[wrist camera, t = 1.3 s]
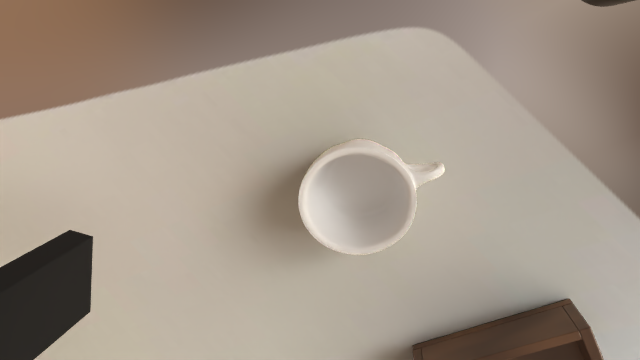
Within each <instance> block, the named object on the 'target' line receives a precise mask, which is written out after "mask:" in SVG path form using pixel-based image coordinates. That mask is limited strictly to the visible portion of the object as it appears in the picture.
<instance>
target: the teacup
mask: <svg viewBox="0 0 640 360" xmlns="http://www.w3.org/2000/svg"><path fill="white" fill-rule="evenodd" d="M444 172H445V168H444V165H443V163H441V162H434V163H424V164H406V163H404V162H403V161H402V160H401V158H400V157H399V156H398V155H397V154H396V153H395V152H393V151H392V150H390V149H389V148H386V147H384V146H382V145H380V144H378V143H376V142H374V141H371V140H367V139H354V140H350V141H347V142H344V143H341V144H338V145H335V146H333V147H331V148H329V149H327V150H326V151H325V152H323V153H322V154H321V155H320V156H319V157H318V158H317V159H316V160H315V161H314V162H313V163H312V165H311V166H310V167H309V169H308V171H307V172H306V174H305V176H304V178H303V180H302V183H301V186H300V189H299V195H298V206H299V212H300V216H301V219H302V221H303V223H304V225H305V227H306V228H307V230H308V231H309V233H310V234H311V235H312V236H313V237H314V238H315V239H316V240H317V241H319V242H320V243H321V244H323V245H324V246H326V247H328V248H330V249H332V250H334V251H337V252H340V253H344V254H350V255H365V254H371V253H375V252H379V251H381V250H384V249H386V248H388V247H390V246H391V245H393V244H394V243H396V242H397V241H398V240H399V239H400V238H401V237H402V236H403V235H404V234H405V233H406V232H407V230H408V229H409V227H410V226H411V224H412V222H413V219H414V216H415V213H416V208H417V195H416V189H417V187H419V186H420V185H422V184H424V183H426V182H429V181H431V180H434V179H436V178H438V177H440V176H441V175H442V174H443V173H444Z"/></svg>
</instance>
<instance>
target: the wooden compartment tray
mask: <svg viewBox="0 0 640 360" xmlns="http://www.w3.org/2000/svg"><path fill="white" fill-rule="evenodd" d="M412 347H413V359H414V360H604V359H603V357H602V354H601V352H600V349H599V347H598V344H597V342H596V339H595V337H594V334H593V332H592V330H591V327H590V326H589V325H588V323H587V322H586V320H585V319H584V318H583V316H582V315H581V314H580V312H579V311H578V310H577V308H576V307H575V306H574V304H573V303H572V301H571V300H570V299H566V300H563V301H560V302H556V303H553V304H550V305H546V306H543V307H540V308H536V309H533V310H530V311H526V312H523V313H520V314H516V315H513V316H510V317H506V318H503V319H500V320H496V321H493V322H490V323H486V324H483V325H480V326H476V327H473V328H470V329H466V330H463V331H459V332H456V333H453V334H449V335H446V336H443V337H439V338H436V339H433V340H429V341H426V342H423V343H419V344H416V345H413V346H412Z"/></svg>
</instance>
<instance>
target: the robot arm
mask: <svg viewBox="0 0 640 360" xmlns="http://www.w3.org/2000/svg"><path fill="white" fill-rule="evenodd" d="M92 246H93V236H89V235H86V234H82V233H79V232H75V231H72V230H69V231H67V232H65V233H63V234H61V235H60V236H58V237H56V238H54V239H52V240H50V241H48V242H47V243H45V244H43V245H41V246H39V247H37V248H35V249H34V250H32V251H30V252H28V253H26V254H24V255H22V256H21V257H19V258H17V259H15V260H13V261H11V262H10V263H8V264H6V265H4V266H2V267H0V360H34V359H35V358H36V357H37V356H38V355H40V354H41V353H42V352H43V351H44V350H45V349H47V348H48V347H49V346H50V345H51V344H53V343H54V342H55V341H56V340H57V339H58V338H60V337H61V336H62V335H63V334H64V333H66V332H67V331H68V330H69V329H70V328H71V327H73V326H74V325H75V324H76V323H77V322H78V321H80V320H81V319H82V318H83V317H84V316H86V315H87V314H88V313H89V312H90V305H91V275H92Z"/></svg>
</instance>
